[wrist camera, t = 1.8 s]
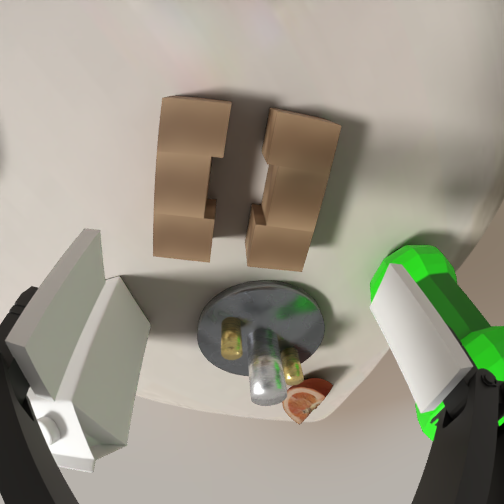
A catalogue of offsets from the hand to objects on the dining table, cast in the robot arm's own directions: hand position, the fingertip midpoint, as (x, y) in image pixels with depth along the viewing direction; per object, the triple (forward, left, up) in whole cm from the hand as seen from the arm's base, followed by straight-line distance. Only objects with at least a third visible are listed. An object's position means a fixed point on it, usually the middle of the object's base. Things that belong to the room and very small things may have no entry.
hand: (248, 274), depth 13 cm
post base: (+17, +5, -13) cm, 22 cm away
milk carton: (+16, -12, -14) cm, 24 cm away
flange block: (0, 0, -13) cm, 13 cm away
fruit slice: (+28, +13, -14) cm, 34 cm away
